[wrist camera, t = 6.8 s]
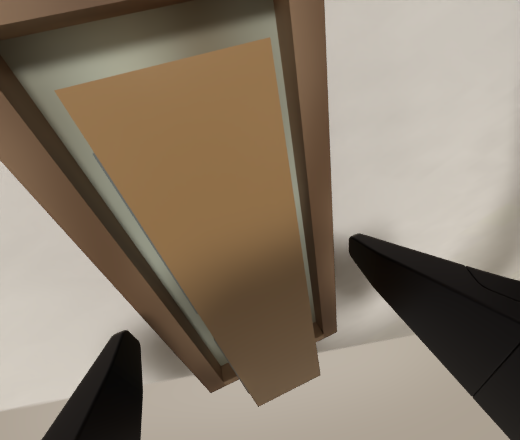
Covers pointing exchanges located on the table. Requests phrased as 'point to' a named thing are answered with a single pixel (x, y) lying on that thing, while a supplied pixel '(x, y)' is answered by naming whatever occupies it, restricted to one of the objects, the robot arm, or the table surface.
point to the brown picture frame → (95, 180)
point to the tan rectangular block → (213, 199)
